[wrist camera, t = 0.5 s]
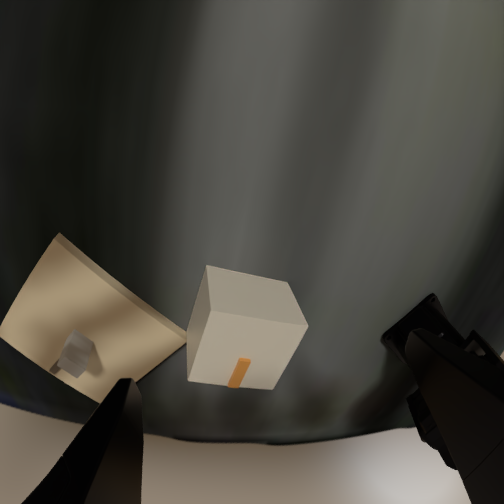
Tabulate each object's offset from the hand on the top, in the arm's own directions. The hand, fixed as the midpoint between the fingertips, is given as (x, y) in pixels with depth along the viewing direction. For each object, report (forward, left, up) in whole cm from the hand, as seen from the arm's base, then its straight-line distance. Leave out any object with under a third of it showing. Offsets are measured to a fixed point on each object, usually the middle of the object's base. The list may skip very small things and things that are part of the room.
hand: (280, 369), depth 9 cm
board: (+2, +15, -13) cm, 20 cm away
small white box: (-5, +5, -13) cm, 15 cm away
